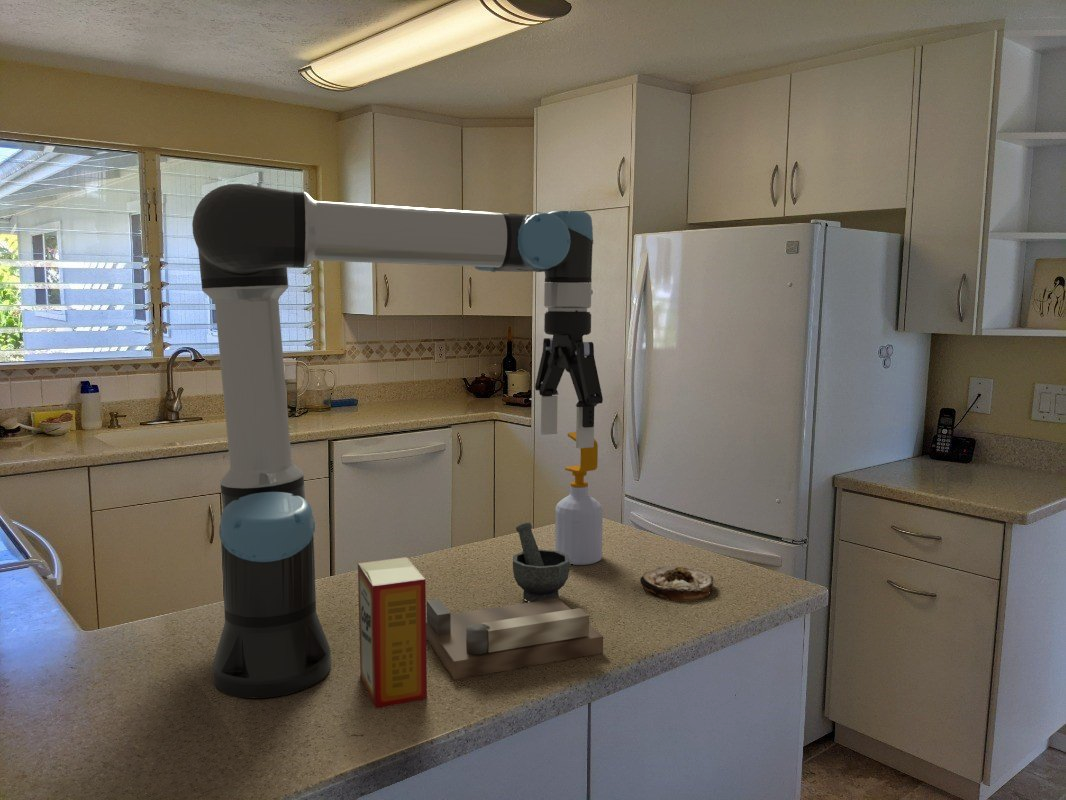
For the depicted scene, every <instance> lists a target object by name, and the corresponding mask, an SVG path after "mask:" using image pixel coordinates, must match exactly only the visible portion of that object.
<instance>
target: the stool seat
mask: <svg viewBox="0 0 1066 800" xmlns="http://www.w3.org/2000/svg"><path fill="white" fill-rule="evenodd" d="M564 610H571V608H570V607H569V606H568V605H566V604H565V603H564V602H563V601H562V600H561V599H558V598H556V599H549V600H542V601H535V602H529V603H528V602H522V603H516V604H509V605H503V606H501V605H500V606H496V607H495V606H494V607H489V608H482V609H475V610H467V611H462V612H455V613H451V612H450V611H449V609H448V608H447V607H446V605H444V603H443V602H442V600H441V599H440V598H437V599H429V600H426V641H427V642H428V643H429V642H430V643H429V644H430V646H431V645H432V646H431V647H432V649H433V648H434V649H433V651H434V652H435V653H436V654H437V656H438V658H439V659H440V660H441V662H442V664H443V665H444V667H445V668H446V669H447V671H448V672H449V674H450V676H451V677H452V678H453V680H460V679H465V678H471V677H476V676H482V675H488V674H493V673H498V672H504V671H510V670H515V669H521V668H527V667H532V665H533V666H538V664H539V665H543V664H545V665H546V664H549V663H555V662H554V661H556V662H561V660H562V661H566V660H572V658H573V659H577V658H583V656H584V657H589V656H593V655H599V654H600V653H601V654H604V635H602V634H601V633H600V632H599V631H597V629H595V628H594V627H593V626H591V625H590V624H589V636H585V637H579V638H573V639H567V640H561V641H555V642H549V643H543V644H537V645H531V646H525V647H519V648H513V649H507V650H501V651H495V652H487V653H484V654H471V653H468V652H467V651H466V628H467V626H469V625H472V624H482V623H486V622H492V621H499V620H505V619H512V618H518V617H525V616H531V615H538V614H545V613H551V612H558V611H564Z"/></svg>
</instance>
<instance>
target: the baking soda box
mask: <svg viewBox="0 0 1066 800" xmlns="http://www.w3.org/2000/svg"><path fill="white" fill-rule="evenodd" d="M357 579H358V581H357V583H358V584H357V587H358V621H359V622H358V624H359V627H358V628H359V630H358V633H359V634H358V635H359V666H360V667H359V668H360V670H359V671H360V672H359V675H360V678H361V681H362V682H363V684H364V687H365V689H366V691H367V693H368V695H369V697H370V699H371V701H372V703H373V704H372V705H373V706H374V708H375V709H379V708H386V707H391V706H396V705H402V704H406V703H407V704H408V703H411V702H412V703H413V702H416V701H417V702H418V701H422V700H423V701H424V700H427V699H428V680H427V673H428V670H427V669H428V667H427V663H428V662H427V638H426V617H427V600H426V599H427V598H426V597H427V596H426V595H427V594H426V589H427V588H426V587H427V586H426V585H427V584H426V578H425V577H424V575H422V573H421V572H420V571H419V570H418V568H417V567H416V566H415V565H414V564H413V563H412V562H411V560H410V559H409V558H408V557H407V556H402V557H397V558H389V559H387V558H386V559H378V560H371V561H362V562H357Z"/></svg>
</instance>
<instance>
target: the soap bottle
mask: <svg viewBox="0 0 1066 800" xmlns="http://www.w3.org/2000/svg"><path fill="white" fill-rule="evenodd" d="M567 436H568V438H570V439H571V440H573V441H574V442H576V431H572V432H571V431H570V432H567ZM598 446H599V445H598V442H597V440H596V439H595V438H594V447H591V448H579V449H580V464H577V465H571V466H565V467H564V468H565V469H564V470H565V471H568V472H571V475H572V476H573V477H574V481H571V482H570V493H569V495H567V496H565V497H564V498H562V499H561V500H559V502H557V504H556V506H555V518H554V520H555V525H554V526H555V527H554V528H555V537H554V540H555V541H554V543H555V544H554V549H555V550H554V551H559V552H561V553H564V554H566V555H569V561H570V565H571V564H573V566H588V565H593V564H596V563H598V562H600V561H601V560H602V558H603V528H604V527H603V526H604V525H603V524H604V522H603V518H604V517H603V516H604V513H603V511H604V509H603V507H602V505H601V502H599V501H598V500H597V499H596V498H594V497H592V496H591V495H589V485H588V484H589V483H588V482H587V481H585V480H584V479H585V476H587V472H590V471H595V470H597V468H598V458H599V457H598V450H599V449H598V448H599V447H598Z"/></svg>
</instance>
